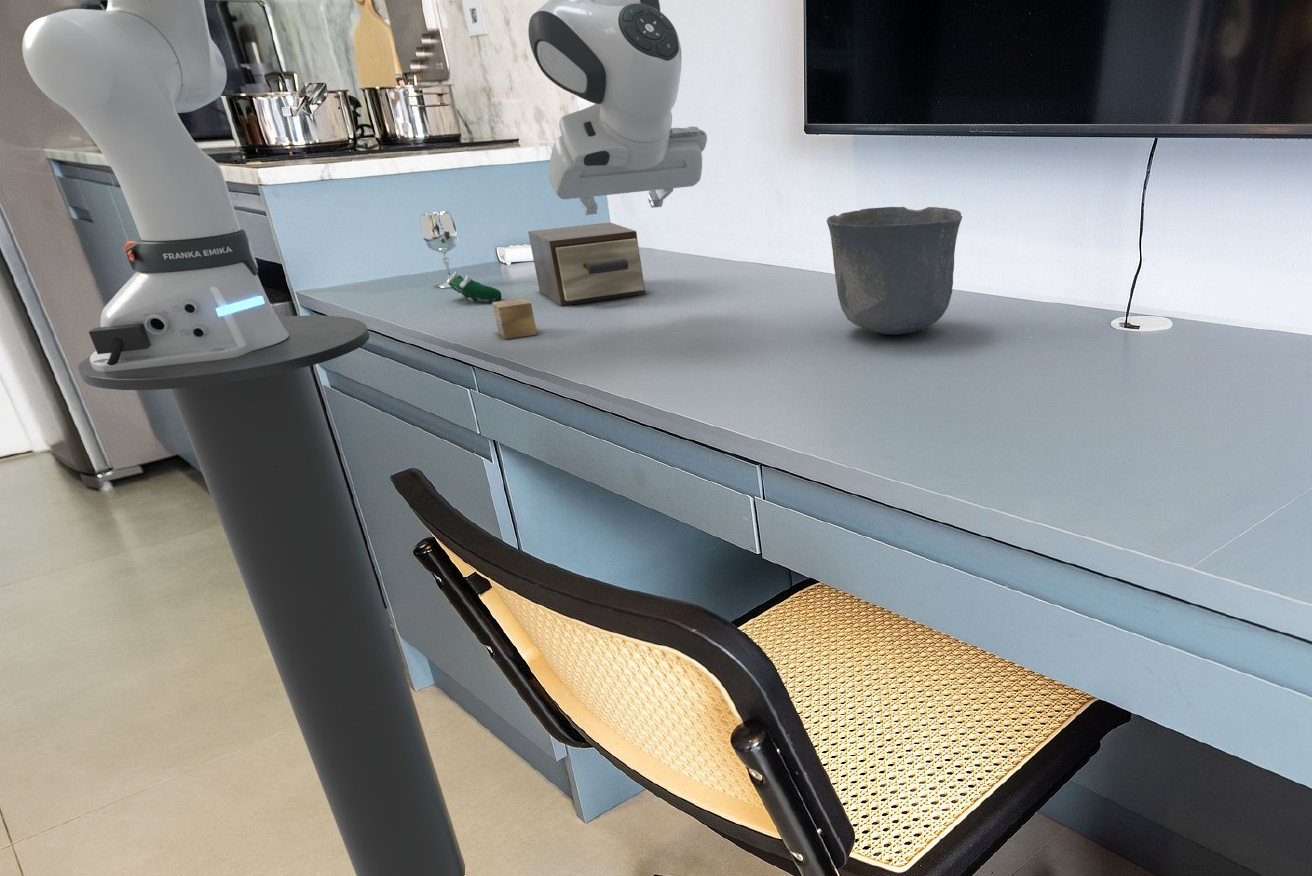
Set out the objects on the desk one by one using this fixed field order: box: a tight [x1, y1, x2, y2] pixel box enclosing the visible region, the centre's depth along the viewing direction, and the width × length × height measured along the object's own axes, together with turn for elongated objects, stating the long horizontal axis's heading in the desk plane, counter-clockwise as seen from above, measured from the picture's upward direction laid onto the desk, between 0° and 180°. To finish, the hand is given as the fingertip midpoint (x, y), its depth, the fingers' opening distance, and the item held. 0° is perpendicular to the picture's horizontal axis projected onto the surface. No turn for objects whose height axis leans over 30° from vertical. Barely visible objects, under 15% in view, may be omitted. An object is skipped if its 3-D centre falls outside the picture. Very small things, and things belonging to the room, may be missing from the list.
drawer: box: [556, 238, 645, 301], centre depth 160 cm, size 17×13×8 cm
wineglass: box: [419, 211, 459, 289], centre depth 174 cm, size 6×6×12 cm
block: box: [491, 297, 538, 340], centre depth 140 cm, size 4×4×4 cm
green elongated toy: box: [448, 271, 502, 303], centre depth 163 cm, size 9×4×6 cm
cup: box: [826, 206, 963, 336], centre depth 129 cm, size 18×18×15 cm
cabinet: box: [527, 221, 646, 307], centre depth 163 cm, size 14×14×10 cm
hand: (622, 206), depth 140 cm, fingers open, 8 cm apart
